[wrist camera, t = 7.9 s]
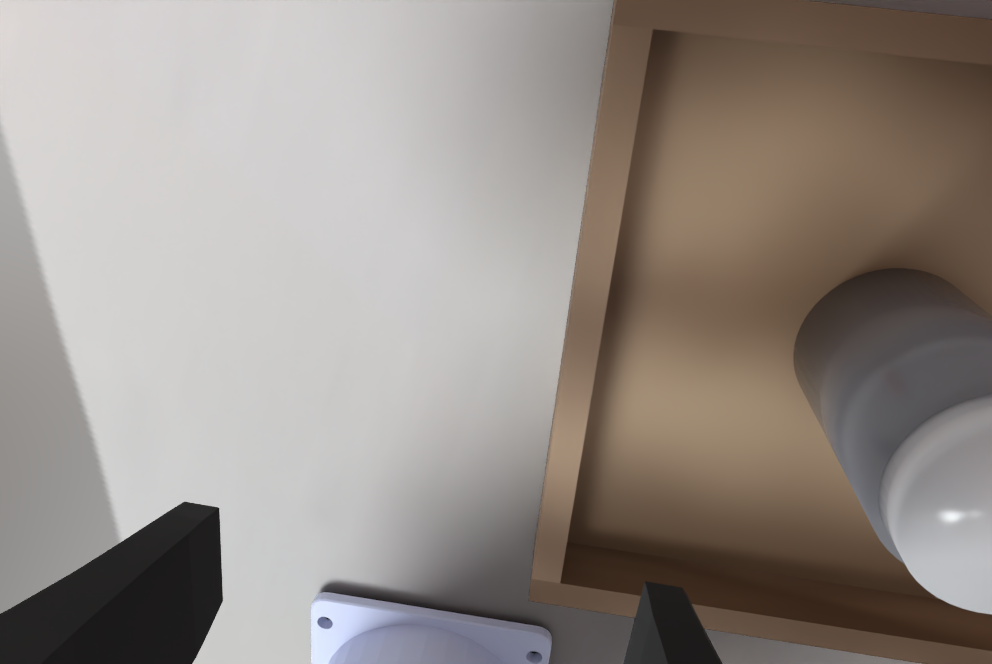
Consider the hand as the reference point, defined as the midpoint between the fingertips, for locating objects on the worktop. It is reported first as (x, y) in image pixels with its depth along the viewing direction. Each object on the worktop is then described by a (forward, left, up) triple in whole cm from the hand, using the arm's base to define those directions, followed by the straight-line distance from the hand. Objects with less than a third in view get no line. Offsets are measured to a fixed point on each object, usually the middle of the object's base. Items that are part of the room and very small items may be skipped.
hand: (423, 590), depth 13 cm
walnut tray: (+2, -10, -9) cm, 14 cm away
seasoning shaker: (+2, -10, -9) cm, 13 cm away
